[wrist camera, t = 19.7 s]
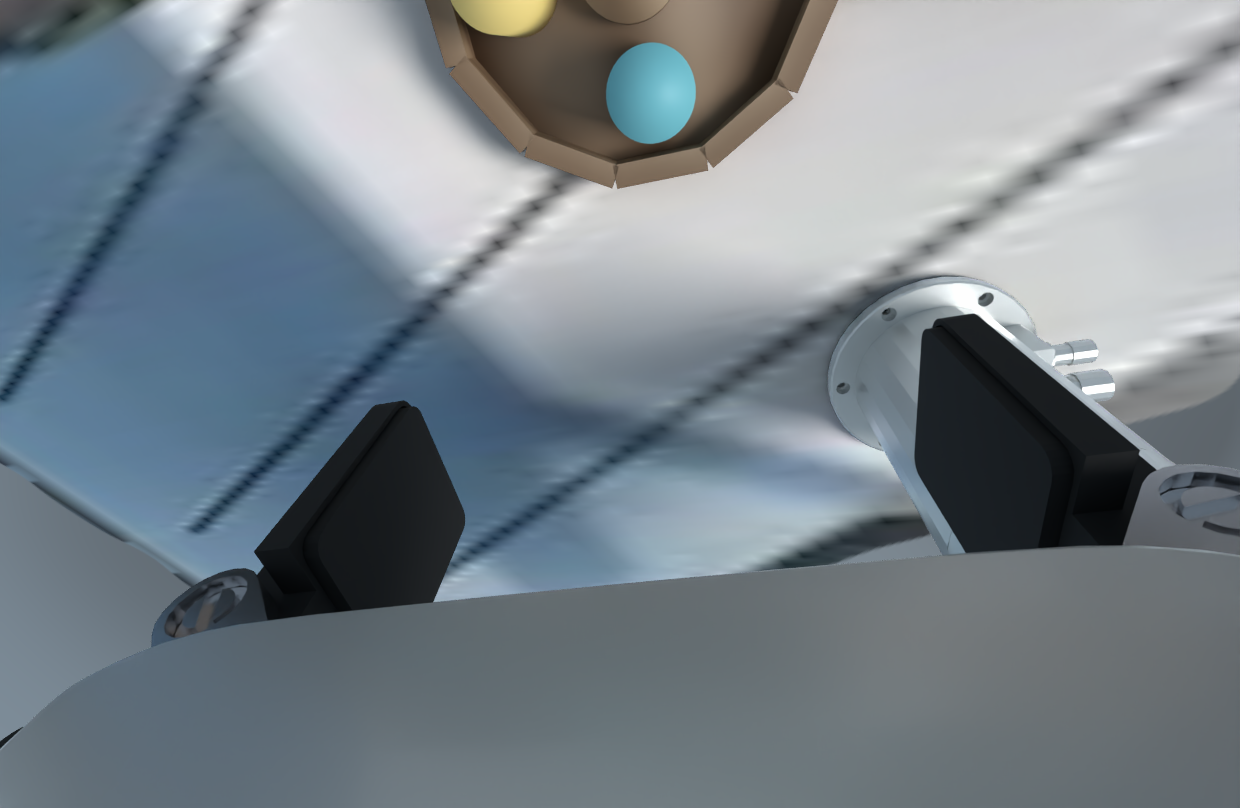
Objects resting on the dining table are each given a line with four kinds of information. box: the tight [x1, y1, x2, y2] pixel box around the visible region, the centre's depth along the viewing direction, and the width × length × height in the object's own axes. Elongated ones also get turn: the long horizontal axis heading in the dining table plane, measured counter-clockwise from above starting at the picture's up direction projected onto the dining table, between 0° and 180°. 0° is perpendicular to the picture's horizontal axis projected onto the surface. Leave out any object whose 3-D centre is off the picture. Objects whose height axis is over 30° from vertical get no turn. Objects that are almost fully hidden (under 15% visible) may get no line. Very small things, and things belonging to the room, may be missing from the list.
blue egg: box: [606, 43, 696, 144], centre depth 28 cm, size 4×4×5 cm
